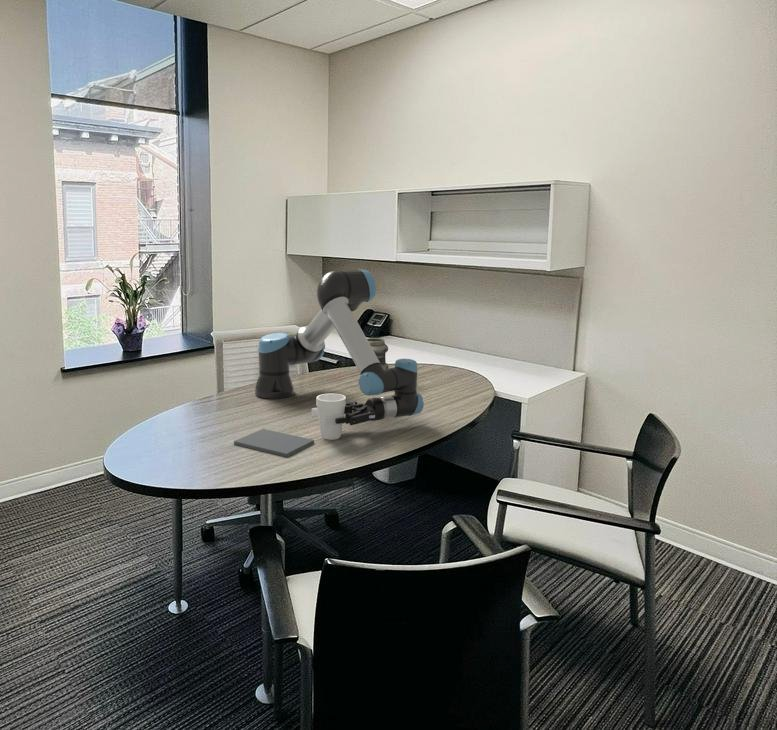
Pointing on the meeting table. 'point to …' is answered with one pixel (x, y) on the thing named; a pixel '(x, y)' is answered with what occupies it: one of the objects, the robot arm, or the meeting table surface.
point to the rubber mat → (274, 442)
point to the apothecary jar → (379, 350)
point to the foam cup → (330, 413)
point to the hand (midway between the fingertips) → (318, 417)
